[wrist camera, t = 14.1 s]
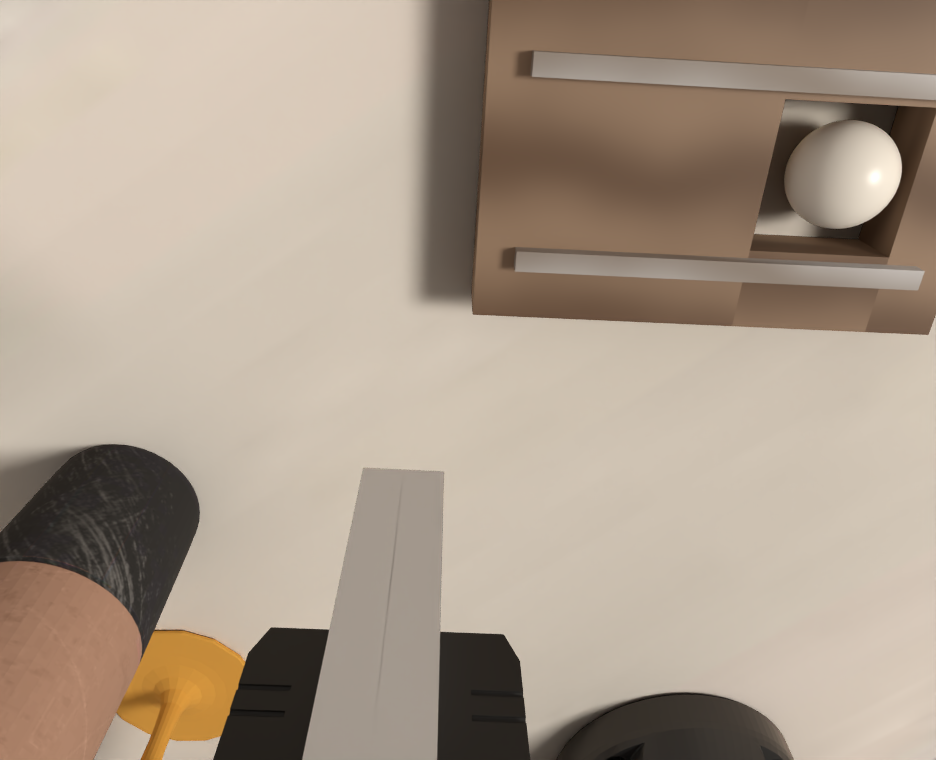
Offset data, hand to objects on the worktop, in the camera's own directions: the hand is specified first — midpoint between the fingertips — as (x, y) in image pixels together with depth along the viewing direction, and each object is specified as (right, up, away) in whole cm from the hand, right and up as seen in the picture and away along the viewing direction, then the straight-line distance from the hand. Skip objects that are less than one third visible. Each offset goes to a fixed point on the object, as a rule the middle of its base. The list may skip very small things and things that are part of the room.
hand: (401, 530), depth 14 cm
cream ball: (+15, +11, +14) cm, 23 cm away
